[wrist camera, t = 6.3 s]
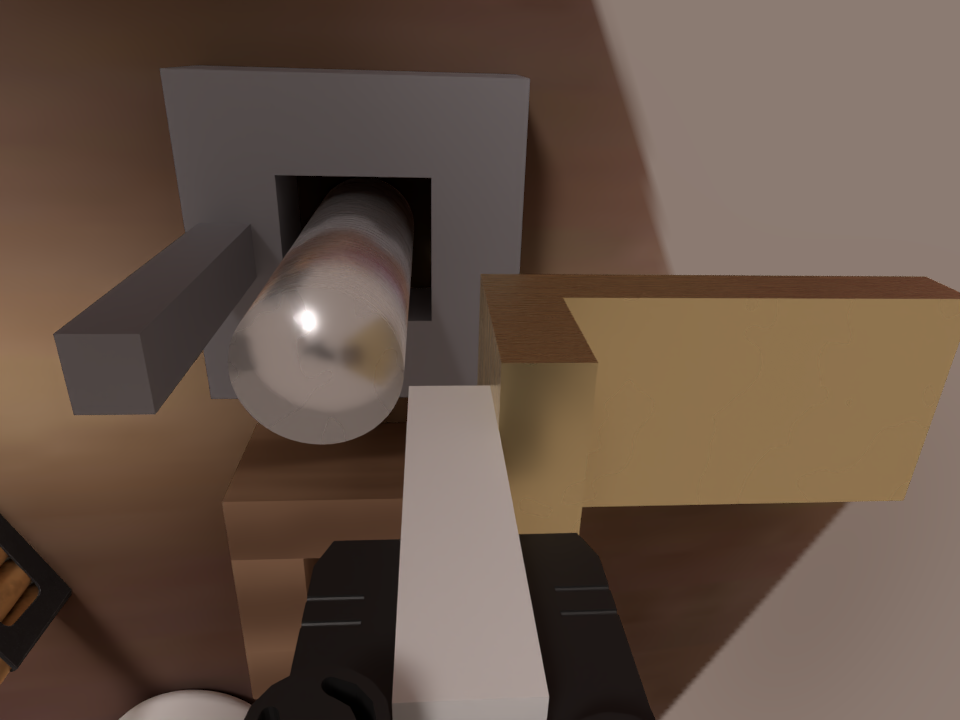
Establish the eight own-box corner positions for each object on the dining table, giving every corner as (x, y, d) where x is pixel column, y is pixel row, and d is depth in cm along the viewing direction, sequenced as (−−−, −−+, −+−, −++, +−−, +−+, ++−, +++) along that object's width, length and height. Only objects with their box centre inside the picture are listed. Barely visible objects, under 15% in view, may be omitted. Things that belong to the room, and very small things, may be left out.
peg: (314, 176, 27) (216, 287, 15) (413, 177, 28) (402, 288, 15) (321, 271, 29) (238, 445, 16) (414, 272, 29) (405, 443, 17)
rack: (256, 424, 32) (221, 501, 26) (489, 422, 33) (501, 496, 27) (279, 601, 36) (253, 698, 31) (482, 595, 37) (492, 689, 32)
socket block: (197, 65, 25) (-39, 83, 12) (516, 74, 26) (601, 99, 13) (236, 356, 30) (96, 584, 17) (502, 356, 31) (555, 571, 18)
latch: (480, 274, 14) (501, 363, 10) (925, 276, 15) (1108, 360, 11) (474, 471, 16) (489, 610, 12) (866, 464, 17) (1001, 594, 13)
